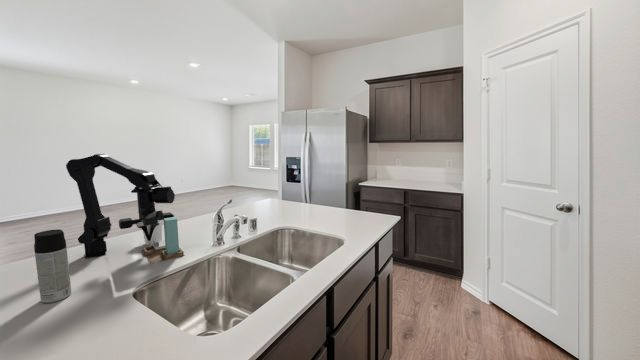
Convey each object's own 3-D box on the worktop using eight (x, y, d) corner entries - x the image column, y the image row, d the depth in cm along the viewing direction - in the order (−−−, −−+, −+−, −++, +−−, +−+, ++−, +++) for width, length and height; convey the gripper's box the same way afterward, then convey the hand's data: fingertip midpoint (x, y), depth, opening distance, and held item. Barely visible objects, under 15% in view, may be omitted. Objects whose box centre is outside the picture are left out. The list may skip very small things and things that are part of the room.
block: (168, 257, 108) (165, 220, 106) (166, 254, 111) (163, 218, 109) (179, 255, 111) (177, 218, 109) (176, 252, 114) (174, 216, 112)
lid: (155, 249, 112) (155, 243, 111) (152, 244, 117) (151, 238, 117) (175, 245, 116) (174, 239, 116) (170, 241, 122) (170, 235, 122)
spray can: (69, 289, 86) (62, 227, 84) (74, 296, 82) (66, 231, 79) (39, 298, 81) (30, 232, 79) (42, 306, 77) (33, 237, 74)
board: (150, 266, 102) (149, 260, 102) (142, 252, 116) (141, 246, 115) (185, 258, 110) (184, 252, 110) (173, 245, 124) (173, 240, 123)
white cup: (148, 247, 122) (146, 225, 120) (140, 243, 126) (139, 222, 125) (166, 242, 128) (165, 221, 127) (159, 238, 133) (157, 218, 131)
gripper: (120, 210, 99) (123, 251, 101) (176, 203, 111) (179, 240, 113) (116, 205, 107) (120, 243, 109) (169, 199, 120) (172, 233, 121)
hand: (149, 240), depth 113 cm, fingers closed
